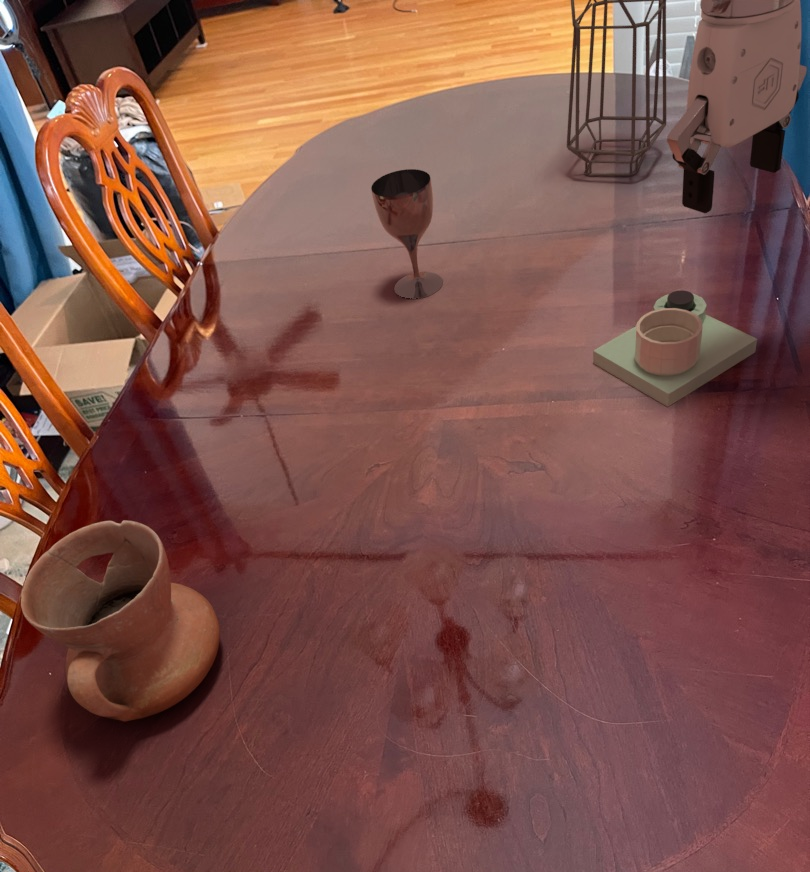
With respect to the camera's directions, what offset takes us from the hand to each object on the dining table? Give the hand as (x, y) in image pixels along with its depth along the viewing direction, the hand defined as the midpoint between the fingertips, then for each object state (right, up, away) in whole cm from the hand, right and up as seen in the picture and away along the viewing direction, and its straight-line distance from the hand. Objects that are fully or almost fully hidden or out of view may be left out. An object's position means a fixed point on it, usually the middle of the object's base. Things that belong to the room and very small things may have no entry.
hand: (731, 188), depth 81 cm
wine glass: (-31, +2, +37) cm, 48 cm away
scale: (-1, -13, +16) cm, 21 cm away
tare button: (+1, -7, +17) cm, 18 cm away
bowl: (-2, -14, +13) cm, 19 cm away
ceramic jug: (-56, -48, -3) cm, 74 cm away
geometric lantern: (+2, +26, +52) cm, 58 cm away
